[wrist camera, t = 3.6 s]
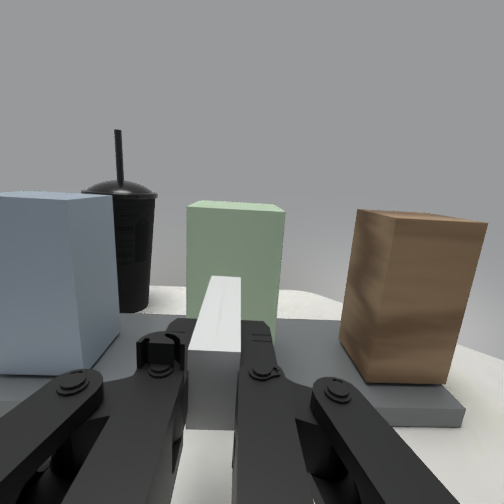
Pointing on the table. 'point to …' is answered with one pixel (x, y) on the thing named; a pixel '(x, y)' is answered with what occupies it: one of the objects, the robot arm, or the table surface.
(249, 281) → the pale green block
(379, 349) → the brown wooden block
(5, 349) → the blue-grey tall block
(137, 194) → the drinking cup
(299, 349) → the grey flat board
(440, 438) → the table surface
